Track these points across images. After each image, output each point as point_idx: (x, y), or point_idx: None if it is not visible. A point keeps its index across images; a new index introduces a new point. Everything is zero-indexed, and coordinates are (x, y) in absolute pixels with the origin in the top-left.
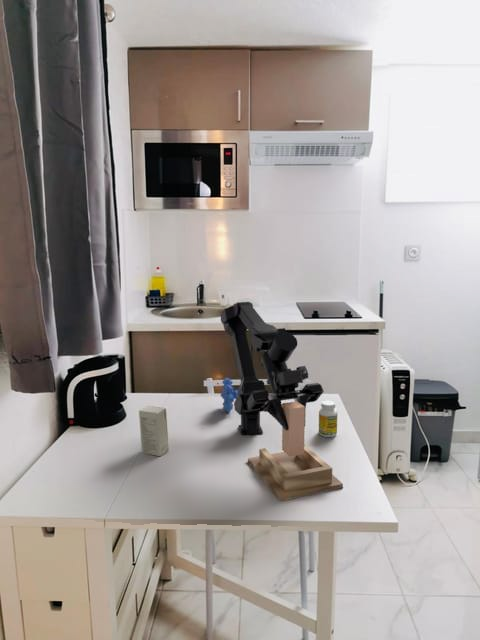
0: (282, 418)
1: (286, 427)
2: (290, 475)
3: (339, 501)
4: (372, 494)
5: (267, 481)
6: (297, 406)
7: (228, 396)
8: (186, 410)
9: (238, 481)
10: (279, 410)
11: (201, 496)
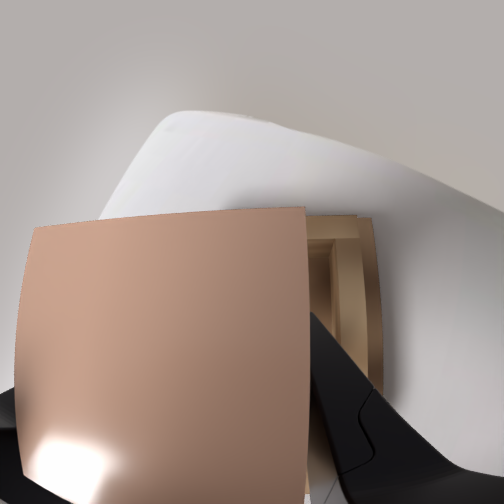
0: (353, 364)
1: (316, 320)
2: (335, 220)
3: (216, 177)
4: (130, 186)
5: (381, 314)
6: (95, 287)
7: None
8: None
9: (446, 365)
10: (393, 438)
11: None
